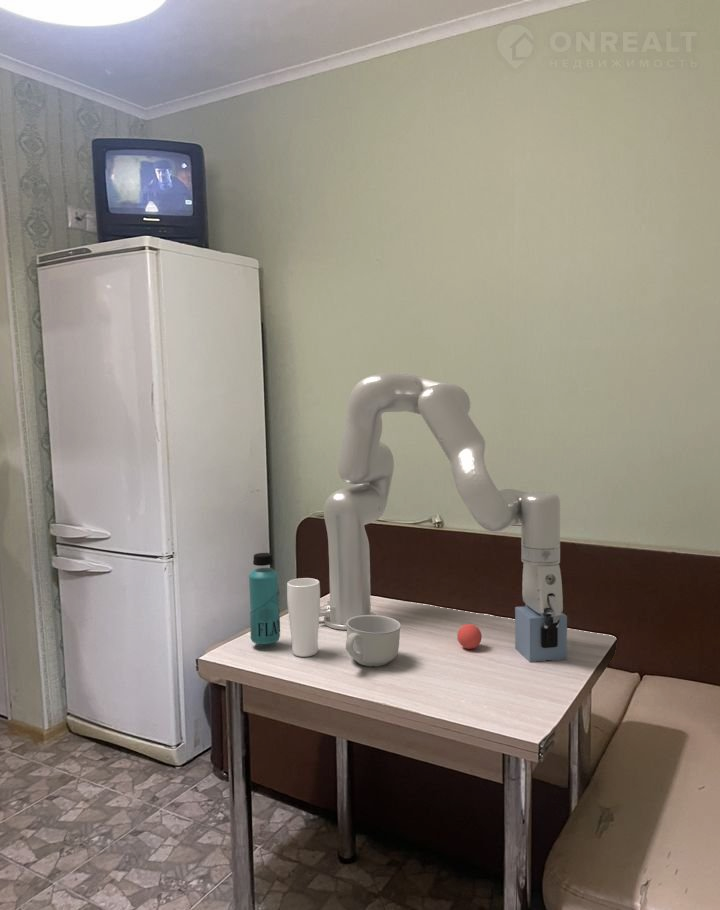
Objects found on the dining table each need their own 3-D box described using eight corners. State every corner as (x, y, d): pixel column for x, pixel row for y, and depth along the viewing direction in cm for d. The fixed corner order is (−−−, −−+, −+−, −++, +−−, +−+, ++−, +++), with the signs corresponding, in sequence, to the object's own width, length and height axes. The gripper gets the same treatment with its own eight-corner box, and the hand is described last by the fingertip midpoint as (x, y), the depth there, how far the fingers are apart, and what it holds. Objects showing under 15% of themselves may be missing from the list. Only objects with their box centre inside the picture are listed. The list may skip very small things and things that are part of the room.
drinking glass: (323, 647, 148) (322, 577, 147) (318, 659, 141) (316, 586, 140) (292, 647, 148) (290, 577, 147) (285, 658, 142) (283, 586, 141)
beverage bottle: (254, 653, 145) (251, 558, 144) (246, 643, 151) (243, 552, 150) (284, 648, 148) (282, 555, 146) (275, 638, 154) (273, 549, 152)
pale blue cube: (529, 662, 137) (529, 618, 137) (515, 648, 145) (515, 606, 144) (566, 659, 139) (566, 615, 138) (550, 645, 146) (550, 604, 145)
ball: (461, 653, 143) (461, 629, 143) (454, 644, 148) (454, 621, 148) (485, 651, 144) (484, 627, 143) (477, 643, 149) (477, 620, 148)
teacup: (373, 647, 147) (372, 610, 147) (412, 660, 140) (411, 621, 139) (324, 666, 138) (323, 626, 137) (362, 681, 130) (362, 639, 129)
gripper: (578, 563, 132) (577, 653, 134) (540, 544, 149) (540, 625, 151) (540, 565, 131) (540, 656, 132) (507, 546, 148) (507, 627, 150)
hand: (540, 639), depth 142 cm, fingers closed on pale blue cube, 7 cm apart
